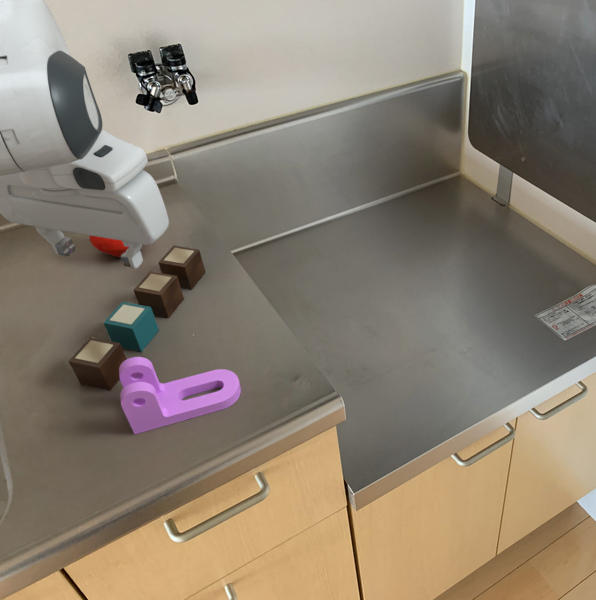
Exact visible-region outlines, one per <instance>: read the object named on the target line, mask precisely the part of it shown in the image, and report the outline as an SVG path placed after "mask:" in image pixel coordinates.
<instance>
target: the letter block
mask: <svg viewBox="0 0 596 600" xmlns="http://www.w3.org/2000/svg"><path fill="white" fill-rule="evenodd" d="M102 324H103V326H104V328H105V331H106V333H107V335H108V337H109V339H110V340H109V341H112V342H117V343H120V344H121V347H122V349H126V350H130V351H135V352H140V353H142V352H143V351H144V350H145V349H146V347H148V345H149V344H150V343H151V341H152V340H153V339H154V338H155V336H156V335H157V334H158V333H159V331H160V328H159V326H158V323H157V320H156V316H155V315H154V314H153V312H152V309H151V307H148V306H143V305H139V304H138V303H132V302H126V301H122V302H120V303H119V305H117V307H116V308H115V309H114V310H113V311H112V312H111V313H110V315H108V317H107V318H106V319H105V320H104V321H103V322H102Z"/></svg>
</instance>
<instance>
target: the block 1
mask: <svg viewBox="0 0 596 600" xmlns="http://www.w3.org/2000/svg"><path fill="white" fill-rule="evenodd" d="M127 359H128V358H127V356H126V354H125V351H124V348H122V347H121V344H120V343H117V342H112V341H111V340H107V339H103V338H102V339H101V338H98V337H97V338H96V337H92V336H89V338H88V339H87V340H86V341H85V342H84V343H83V344H82V345H81V347H79V349H78V350H77V351H76V352H75V353H74V354H73V355H72V356H71V357H70V358H69V360H68V363H69V365H70V368H71V370H72V371H73V373H74V375H75V377H76V379H77V381H78V382H79V384H80V385H82V386H85V387H90V388H94V389H99V390H103V391H108V392H111V391H112V390H113V388H114V387H116V386H117V385H116V384H118V382H119V381H120V376H119V367H120V365H121V364H122V362H124V361H125V360H127Z"/></svg>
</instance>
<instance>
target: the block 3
mask: <svg viewBox="0 0 596 600" xmlns="http://www.w3.org/2000/svg"><path fill="white" fill-rule="evenodd" d="M133 294H134V296H135V299H136V301H137V304H138V305H143V306H148V307H151V309H152V312H153V314H154V317H156V316H157V317H161V318H166V319H169V318H171V316H172V315H173V314H174V312H175V311H176V310H177V308H178V307H179V306H180V305H181V304H182V302H183V301H184V299H185V297H184V294H183V290H182V288H181V287H180V284H179V280H178V277H177V276H174V275H168V274H163V273H162V272H157V271H153V270H152V271H149V272H148V273H147V274H146V275H145V276H144V277H143V279H141V281H140V282H139V283H138V284H137V285H136V286H135V287H134V289H133Z"/></svg>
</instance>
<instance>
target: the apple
mask: <svg viewBox="0 0 596 600" xmlns="http://www.w3.org/2000/svg"><path fill="white" fill-rule="evenodd" d="M88 237H89V241H90V243H91V245H92V246H93V247H94V248H95V249H96V250H98V251H99V252H101V253H104V254H107V255H110V256H113V257H117V258H121V255H122V254H123V253H125V252H126V250H127V249H128V248H129V246H128V247H126V246H124V245H123V242H122V241H121V240H115V239H109V238H103V237H97V236H90V235H88Z"/></svg>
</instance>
